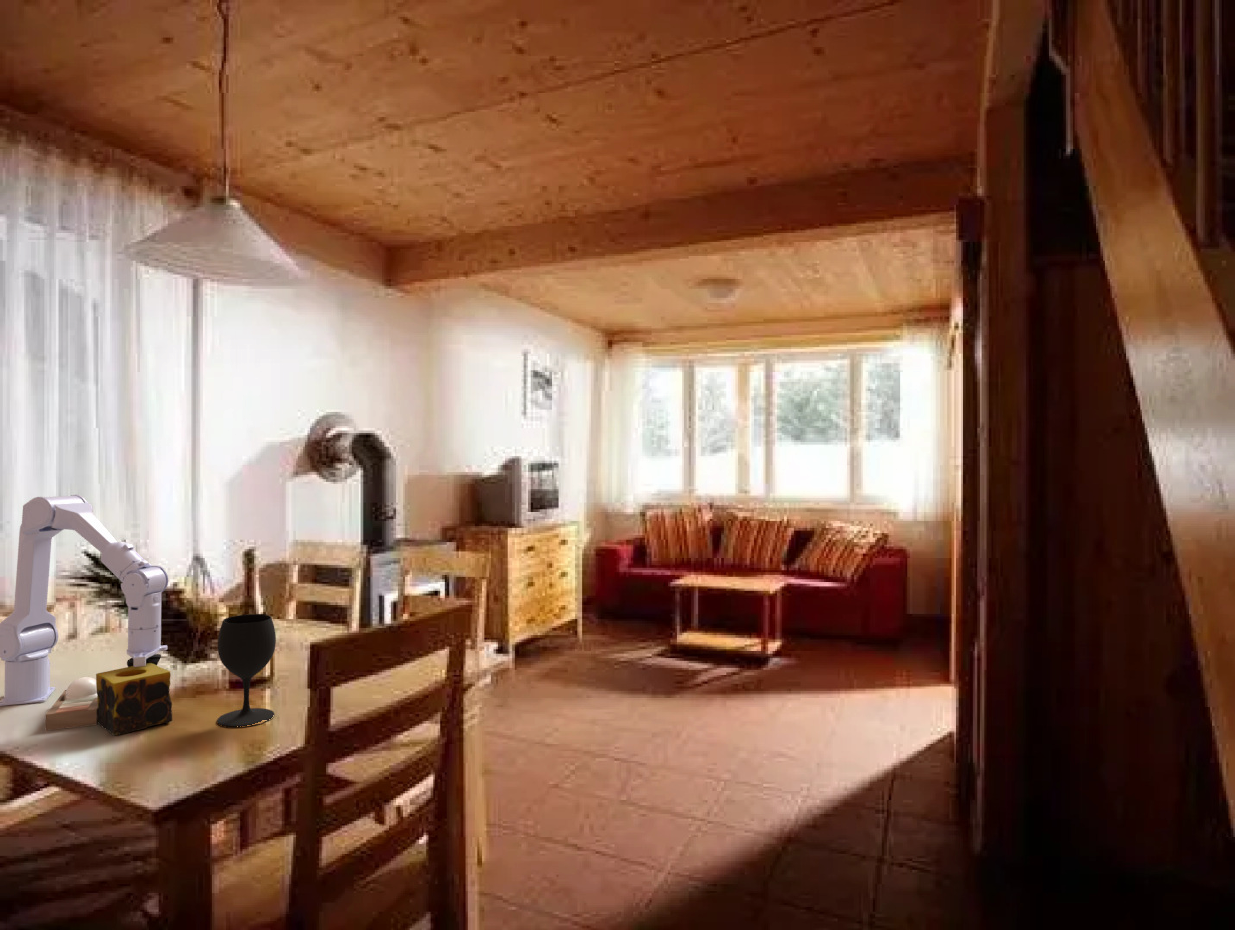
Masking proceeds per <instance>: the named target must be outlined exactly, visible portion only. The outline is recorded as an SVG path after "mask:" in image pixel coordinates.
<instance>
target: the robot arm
mask: <svg viewBox="0 0 1235 930" xmlns="http://www.w3.org/2000/svg"><path fill="white" fill-rule="evenodd" d="M93 508H94V507H93V505H92V503H91V504H90V503H89V502H88V501H87V499H86V498H84V496H82V495H79V494H73V495H71V494H70V495H63V496H62V495H59V496H46V497H45V496H37V497H34V498H31V499H30V500H28V502H26V503H24V504H23V506H22V515H21V516H22V517H21V524H20V526H19V534H18V535H19V536H18V549H17V559H16V560H17V563H16V576H15V591H14V605H13V612H11V613H10V614H9V615H8V616H7V617H6V618H4V619H3V620H1V621H0V659H1V661H3V662H4V697H3V698H2V699H1V700H0V707H1V706H12V705H22V704H23V705H25V704H30V703H31V704H32V703H41V702H46V700H47V699H48V698H49V697H50V696H51V694H52V693H53V692H54V691H55V690H56V686H51V662H50V661H51V660H50V658H49V654H52V649H53V648H54V647H55V646H56V645H57V643H58V641H59V631H58V628H57V626H56V621H57V618H56V615H53V614H52V613H50V612H49V611H48V610H47V607H48V591H49V576H50V565H51V552H52V540H53V539H52V538H54V537H55V536H56V535H58V534H59V533H61V532H62V531H63V530H70V531H71V530H72V531H74V532H76V533H77V534H78V535H79V536H81V538H83V539H84V540H85V541H87V542H88V543H89V544H90V545H92V546H93V547H94V548H95V549H96V550H97V551H98V552H100V553H101V556H100V562H101V563H102V564H103V565H104V566H105V567H106V568H107V569H109V571H110V572H111V573H113V575H114V576H115V577H116V579H118V580H119V581H120V582H121V583H120V588H121V591H122V593H123V595H124V596H125V604H126V606H127V609H128V612H127V613H128V614H127V621H128V622H127V623H128V624H127V649H126V655H128V656H129V657H130V658H128V659H127V661H126V665H127V667H131V666H133V667H139V666H146V664H147V663H152V664H155V665H157V666H158V664H159V663H160V661H161V658H162V654H159V653H160V652H164V651H165V652H166V651H167V650H168V645H166V644H165V645H161V644H162V643H161V642H162V641H161V640H162V593H163V592H164V591H165V590H166V589H167V588H168V586H169V575H168V574H167V572H166V570H165V569H164V568H163V567H162V566H160V565H157V564H156V565H154V564H152V563H150V562H149V561H147V559H145V558H144V557H142V555H140V554H139V553H138V551H136V550H135V546H134V545H133V544H132V543H128V542H126V541H117V540H116V539H115V537H114V536H113V535H112V534H111V533H110V531H109V530H108V529H107V528H106V527H105V526H104V525H103V523H102V522H101V521H100V520H99V519H98V518H97V517H96V516H95V514H94V513H93V512H94V511H93Z"/></svg>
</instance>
